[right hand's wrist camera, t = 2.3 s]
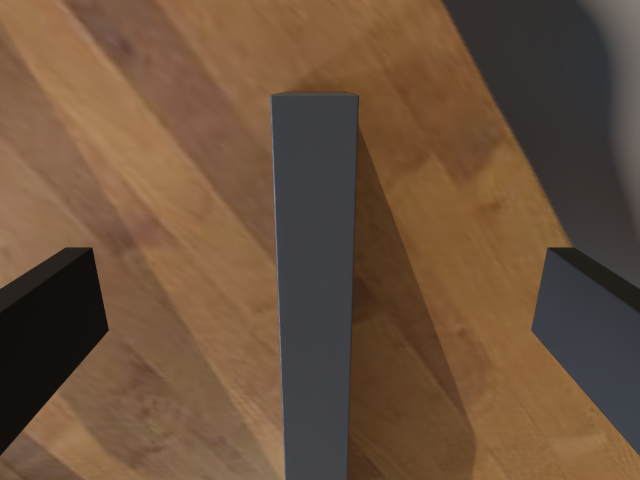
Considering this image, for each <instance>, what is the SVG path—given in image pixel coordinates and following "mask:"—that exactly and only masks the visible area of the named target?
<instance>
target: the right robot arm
mask: <svg viewBox="0 0 640 480" xmlns="http://www.w3.org/2000/svg"><path fill="white" fill-rule="evenodd" d="M108 331H109V329H108V324H107V319H106V314H105V309H104V304H103V299H102V294H101V289H100V284H99V279H98V274H97V269H96V264H95V259H94V254H93V249H92V248H64V249H63V250H61V251H60V252H58V253H56V254H55V255H53V256H52V257H50V258H49V259H47V260H45V261H44V262H42V263H41V264H39V265H38V266H36V267H34V268H33V269H31V270H30V271H28V272H27V273H25V274H23V275H22V276H20V277H19V278H17V279H16V280H14V281H12V282H11V283H9V284H8V285H6V286H4V287H3V288H1V289H0V456H1V454H2V453H3V452H4V451H5V450H6V449H7V448H8V446H9V445H10V444H11V443H12V442H13V441H14V439H15V438H16V437H17V436H18V435H19V434H20V432H21V431H22V430H23V429H24V428H25V427H26V426H27V424H28V423H29V422H30V421H31V420H32V419H33V417H34V416H35V415H36V414H37V413H38V412H39V411H40V409H41V408H42V407H43V406H44V405H45V404H46V402H47V401H48V400H49V399H50V398H51V397H52V395H53V394H54V393H55V392H56V391H57V390H58V389H59V387H60V386H61V385H62V384H63V383H64V382H65V380H66V379H67V378H68V377H69V376H70V375H71V374H72V372H73V371H74V370H75V369H76V368H77V367H78V365H79V364H80V363H81V362H82V361H83V360H84V358H85V357H86V356H87V355H88V354H89V353H90V352H91V350H92V349H93V348H94V347H95V346H96V345H97V343H98V342H99V341H100V340H101V339H102V338H103V337H104V335H105V334H106V333H107V332H108ZM531 331H532V332H533V333H534V334H535V335H536V337H537V338H538V339H539V340H540V341H541V342H542V343H543V345H544V346H545V347H546V348H547V349H548V350H549V352H550V353H551V354H552V355H553V356H554V357H555V358H556V360H557V361H558V362H559V363H560V364H561V365H562V367H563V368H564V369H565V370H566V371H567V372H568V374H569V375H570V376H571V377H572V378H573V379H574V380H575V382H576V383H577V384H578V385H579V386H580V387H581V389H582V390H583V391H584V392H585V393H586V394H587V395H588V397H589V398H590V399H591V400H592V401H593V402H594V404H595V405H596V406H597V407H598V408H599V409H600V411H601V412H602V413H603V414H604V415H605V416H606V417H607V419H608V420H609V421H610V422H611V423H612V424H613V426H614V427H615V428H616V429H617V430H618V431H619V432H620V434H621V435H622V436H623V437H624V438H625V439H626V441H627V442H628V443H629V444H630V445H631V446H632V448H633V449H634V450H635V451H636V452H637V453H638V454H639V456H640V289H639V288H637V287H635V286H634V285H632V284H631V283H629V282H628V281H626V280H624V279H623V278H621V277H620V276H618V275H617V274H615V273H613V272H612V271H610V270H609V269H607V268H606V267H604V266H602V265H601V264H599V263H598V262H596V261H595V260H593V259H591V258H590V257H588V256H587V255H585V254H583V253H582V252H580V251H579V250H577V249H576V248H548V249H547V254H546V259H545V264H544V269H543V274H542V279H541V284H540V289H539V294H538V299H537V304H536V309H535V314H534V319H533V324H532V329H531Z"/></svg>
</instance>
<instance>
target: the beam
mask: <svg viewBox="0 0 640 480" xmlns="http://www.w3.org/2000/svg"><path fill="white" fill-rule="evenodd" d="M270 101H271V127H272V153H273V179H274V205H275V231H276V257H277V283H278V309H279V335H280V361H281V387H282V413H283V439H284V465H285V480H347V471H348V437H349V404H350V371H351V338H352V304H353V271H354V238H355V205H356V171H357V138H358V105H359V96H358V95H357V94H352V93H348V92H282V93H277V94H272V95H271V96H270Z"/></svg>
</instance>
